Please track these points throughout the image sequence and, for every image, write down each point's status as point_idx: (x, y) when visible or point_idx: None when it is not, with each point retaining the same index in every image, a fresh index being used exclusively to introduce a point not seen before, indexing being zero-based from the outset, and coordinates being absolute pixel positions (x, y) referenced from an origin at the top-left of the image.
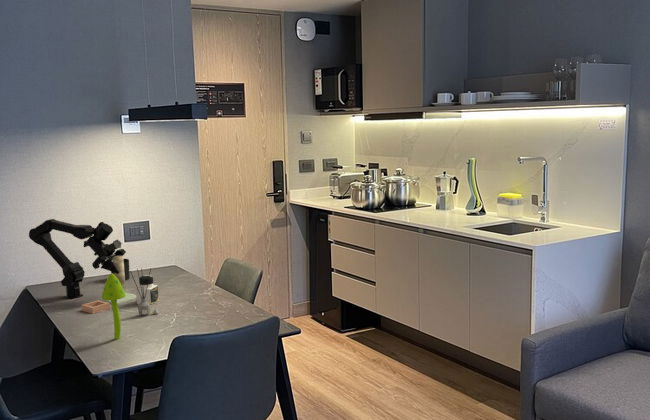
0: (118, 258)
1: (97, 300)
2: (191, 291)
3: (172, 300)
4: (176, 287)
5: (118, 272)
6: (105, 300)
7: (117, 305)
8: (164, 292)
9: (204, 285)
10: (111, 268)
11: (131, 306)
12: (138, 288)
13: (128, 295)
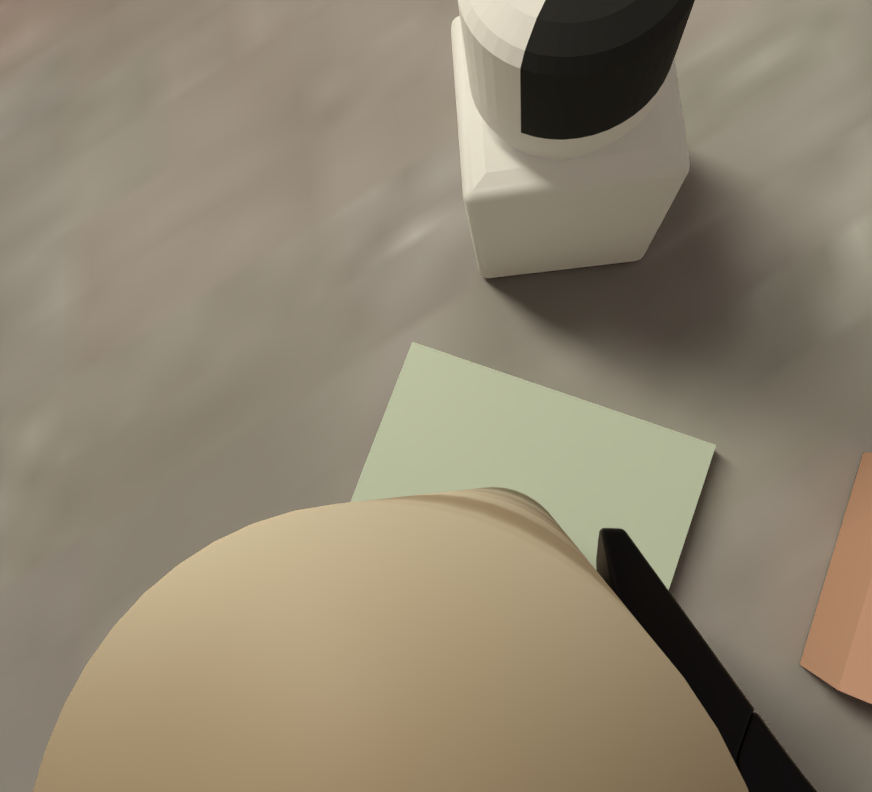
0: (660, 655)
1: (850, 692)
2: (175, 37)
3: None
4: (65, 230)
5: (625, 539)
6: None
7: None
8: (222, 241)
9: (5, 42)
10: None
11: (721, 271)
12: (673, 134)
13: None
